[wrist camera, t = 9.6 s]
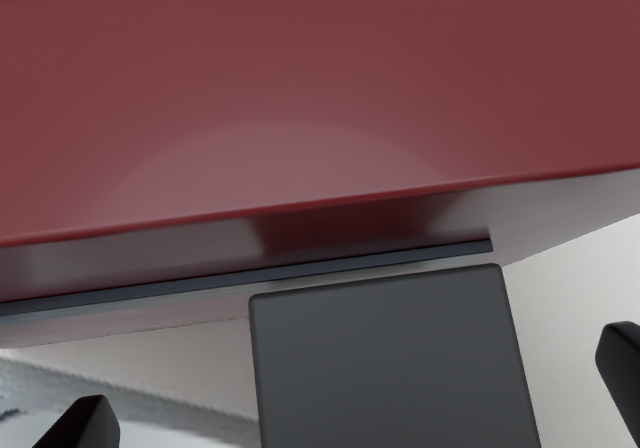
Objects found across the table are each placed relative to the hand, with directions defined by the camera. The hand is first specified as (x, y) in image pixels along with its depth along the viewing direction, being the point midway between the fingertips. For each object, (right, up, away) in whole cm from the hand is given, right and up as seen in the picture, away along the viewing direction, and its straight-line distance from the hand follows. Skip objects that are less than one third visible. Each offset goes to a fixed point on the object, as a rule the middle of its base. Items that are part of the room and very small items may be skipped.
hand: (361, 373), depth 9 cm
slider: (0, -1, 0) cm, 1 cm away
